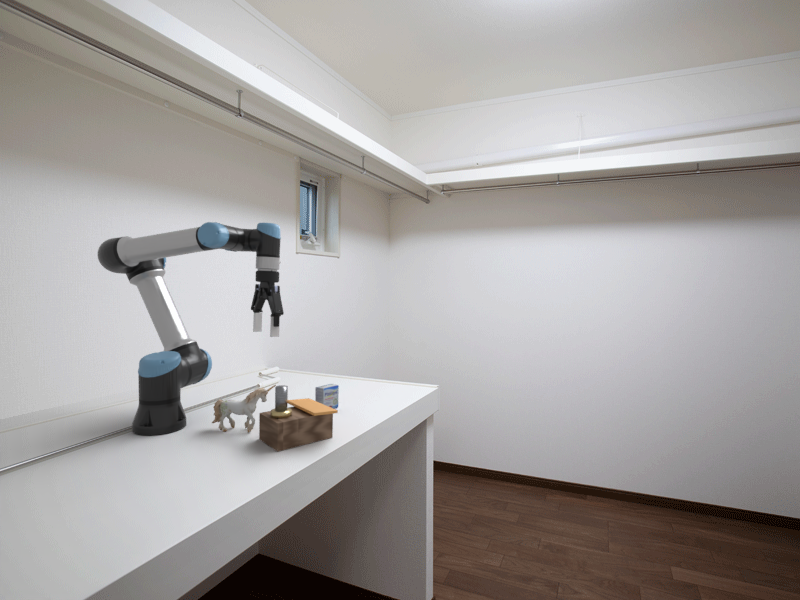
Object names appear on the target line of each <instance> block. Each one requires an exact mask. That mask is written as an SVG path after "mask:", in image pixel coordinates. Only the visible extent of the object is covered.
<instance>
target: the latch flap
mask: <svg viewBox="0 0 800 600" xmlns="http://www.w3.org/2000/svg"><path fill="white" fill-rule="evenodd" d="M287 405H290V406H291V407H297V408H299V409H301V410H303V411H305V412H307V413H309V414H311V415H314V416H317V415H325V414H333V415H334V414H338V412H339V411H338V410H337V408H335V409H333V408H331V407H328V406H326V405H324V404H321V403H319V402H317V401H315V399H311V398H298V399H288V401H287Z"/></svg>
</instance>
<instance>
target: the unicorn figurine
mask: <svg viewBox="0 0 800 600" xmlns="http://www.w3.org/2000/svg"><path fill="white" fill-rule="evenodd" d="M276 386H277V385H276V384H274V385H272V386H271V387H269V388H268V389H265V387H260V388H258V389H255V390H254V391H252V392H250V393H249V394H248V395H246V396H245V398H244V399H243V400H235V399H226V400H222V399H220V398H219V399H218V400H217V401H216V402H214V406H213V411H214V413H213V416H214V419H213V421H212V422H211V424H216V423H219V425H218V429H219V430H220V431H221V430H222V432H224V433H227V432H228V429H227V427H225V425H224V421H225V418H227V419H228V423H229V424H230V428H231V429H235V426H236V422H235V420H234V419H233V418H232V416H231V414H234V415H237V416H246V417H247V418H246V421H245V422H244V428H245V429H246V430H247V433H248V434H249V433H251V432H252V431H253V429H254V426H255V423H256V418H255V417H254V413H255V412H256V409H257V404H258V401H259V399H261V402H262V403H266V402H267V399H268V398H267V395H268V394H269V392H270V391H271V390H273V388H275V387H276ZM250 421H251V423H250Z"/></svg>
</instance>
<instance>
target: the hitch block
mask: <svg viewBox="0 0 800 600" xmlns="http://www.w3.org/2000/svg"><path fill="white" fill-rule="evenodd" d="M288 408H290V409H292V416H290V417H288V418H282V419H276V418H272V417H271V410H269V411H264V412H259V417H258V418H259V420H258V421H259V422H258V423H259V426H258V427H259V428H258V429H259V432H258V434H259V435H258V437H259V439H258V440H260V441H261V442H262V443H263V444H265V445H267V446H268V447H270V448H271V449H273V450H275V452H278V453H279V452H281V451H285V450H286V451H287V450H290V449H294V448H297V447H301V446H305V445H309V444H313V443H316V442H320V441H324V440H328V439H332V438H333V432H334V431H333V429H334V428H333V427H334V426H333V425H334V424H333V423H334V419H333V418H334V414H325V415H317V416H314V415H311V414H309V413H307V412H305V411H303V410H301V409H299V408H297V407H294V406H290V407H288Z"/></svg>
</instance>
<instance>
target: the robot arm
mask: <svg viewBox="0 0 800 600" xmlns="http://www.w3.org/2000/svg"><path fill="white" fill-rule="evenodd" d="M281 240H282V237H281V226H280V225H279V224H277V223H274V222H273V223H272V222H258V223H257V225H256V228H253V229H252V228H239V227H235V226H231V225H227V224H223V223H220V222H216V221H215V222H213V221H212V222H211V221H208V222H204V223H203V224H202V225H200V226H198V227H197V226H196V227H190V228H185V229H179V230H174V231H168V232H167V231H166V232H162V233H156V234H151V235H145V236H139V237H132V236H126V235H125V236H120V237H113V238H109V239H106V240H105V241H103V242H102V243H101V244H100V245H99V247H98V249H97V260H98V262H99V263H100V265H101V267H103V269H105V270H107V271H109V272H111V273H114V274H115V273H116V274H125V275H126V278H127V279H128V282H129V284H131V285H133V286H136V288H137V289H138V293H139V294H140V297H141V299H142V300H143V303H144V305H145V308H146V310H147V313H148V315H149V317H150V319H151V322H152V324H153V326H154V328H155V331H156V333H157V335H158V338H159V340H160V342H161V344H162V346H163V351H159V352H152V353H149V354H146V355H144V356H142V357H141V358H140V360H139V363H138V370H137V374H138V407H137V410H136V413H135V415H134V418H133V420H132V424H131V428H132V433H133V434H135V435H141V436H157V435H164V434H170V433H174V432H177V431H179V430H182V429H184V428H185V427H186V426H187V416H186V412H185V410H184V408H183V405H182V402H181V389H183V388H186V387H188V386H192V385H196V384H198V383H200V382H201V381H202V382H203V380H206V378H208V376H209V375H210V373H211V370H212V366H213V360H212V357H211V355H210V353H209V352H208V351H206V350H204V349H202V348H200V346H199V344H198V342H197V340H195V339H192V338H191V337H190V335H189V334H188V331H187V329H186V327H185V325H184V322H183V320H182V318H181V315H180V313H179V311H178V309H177V306H176V304H175V301H174V300H173V297H172V295H171V292H170V291H169V288H168V286H167V283H166V281H165V279H164V277H165V274H166V270H165V268H166V263H167V258H171V257H177V256H182V255H188V254H195V253H201V252H207V251H214V250H225V251H226V252H227V251H229V252H249V253H250V252H252V253H254V252H255V254H256V255H255V269H257V270H256V271H255V282H256V283H255V284H254V293H253V298H252V301H251V302H252V303H251V306H250V310H251V311H252V312H253V322H252V324H253V325H252V326H253V329H252V331H253V332H254V333H257V332H260V333H261V332H262V331H263V329H262V328H263V308H264V305H265V303H266V301H267V303H268V307H269V309H270V330H269V331H270V332H269V333H270V334H269V337H270V338H273V337H274V338H276V337H280V317H281V316H283V315H284V308H283V303H282V296H281V288H280V287H281V286H280V285H275V283H279V282H280V272H279V270H280V264H281V261H280V258H281V257H280V255H281ZM257 282H258V283H257ZM253 332H252V333H253Z"/></svg>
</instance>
